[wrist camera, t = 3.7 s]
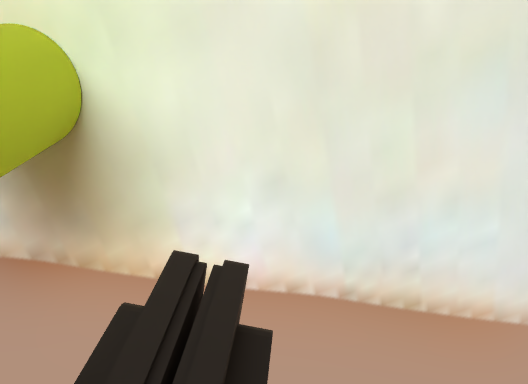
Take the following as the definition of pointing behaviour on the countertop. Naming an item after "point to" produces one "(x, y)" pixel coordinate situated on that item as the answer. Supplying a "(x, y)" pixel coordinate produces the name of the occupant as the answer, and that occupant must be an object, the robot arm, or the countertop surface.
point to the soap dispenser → (33, 94)
